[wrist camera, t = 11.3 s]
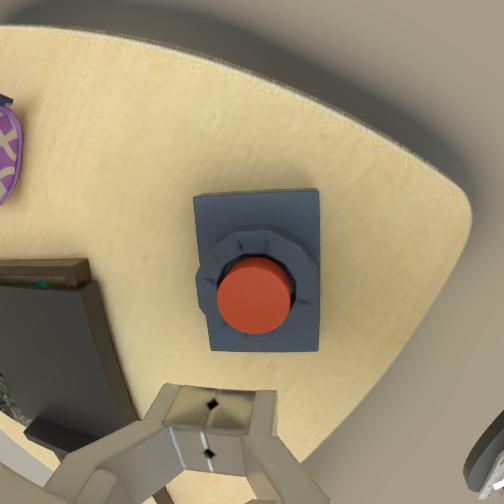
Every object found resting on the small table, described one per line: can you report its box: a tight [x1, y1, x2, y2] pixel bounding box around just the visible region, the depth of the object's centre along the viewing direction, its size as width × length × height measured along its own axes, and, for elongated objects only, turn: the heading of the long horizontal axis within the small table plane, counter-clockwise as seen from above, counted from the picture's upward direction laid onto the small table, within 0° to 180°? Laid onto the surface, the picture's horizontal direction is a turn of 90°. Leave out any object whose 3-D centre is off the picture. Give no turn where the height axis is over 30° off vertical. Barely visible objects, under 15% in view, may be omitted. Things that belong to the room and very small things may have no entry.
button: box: [217, 257, 291, 334], centre depth 16 cm, size 4×4×2 cm
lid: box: [0, 281, 138, 456], centre depth 22 cm, size 17×17×5 cm
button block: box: [193, 188, 320, 352], centre depth 18 cm, size 10×7×4 cm
